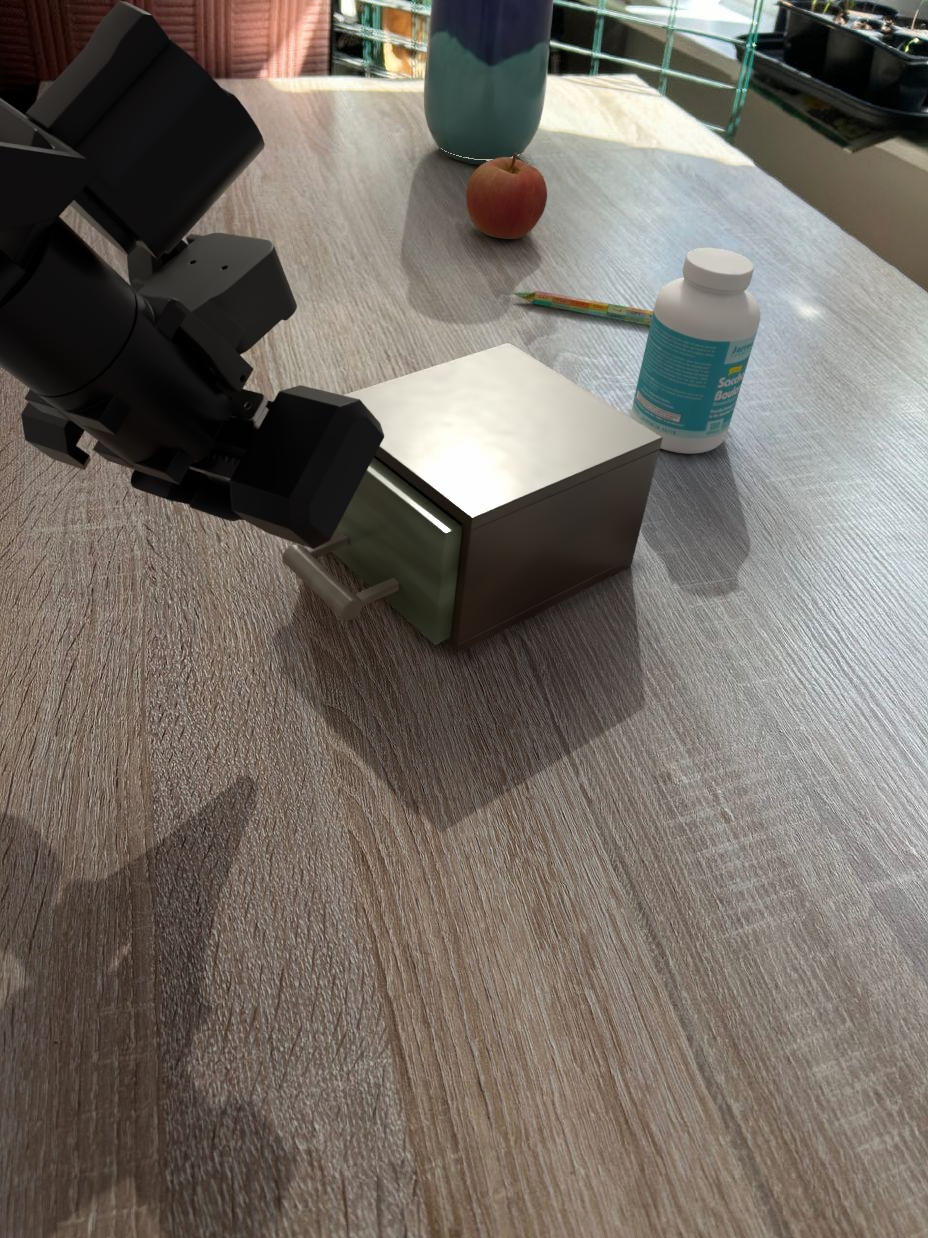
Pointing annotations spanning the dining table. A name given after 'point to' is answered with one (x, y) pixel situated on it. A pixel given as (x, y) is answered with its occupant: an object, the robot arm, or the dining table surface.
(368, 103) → the dining table surface
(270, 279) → the robot arm
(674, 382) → the pill bottle
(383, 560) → the drawer
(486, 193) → the apple
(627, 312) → the pencil
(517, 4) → the vase
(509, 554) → the cabinet
